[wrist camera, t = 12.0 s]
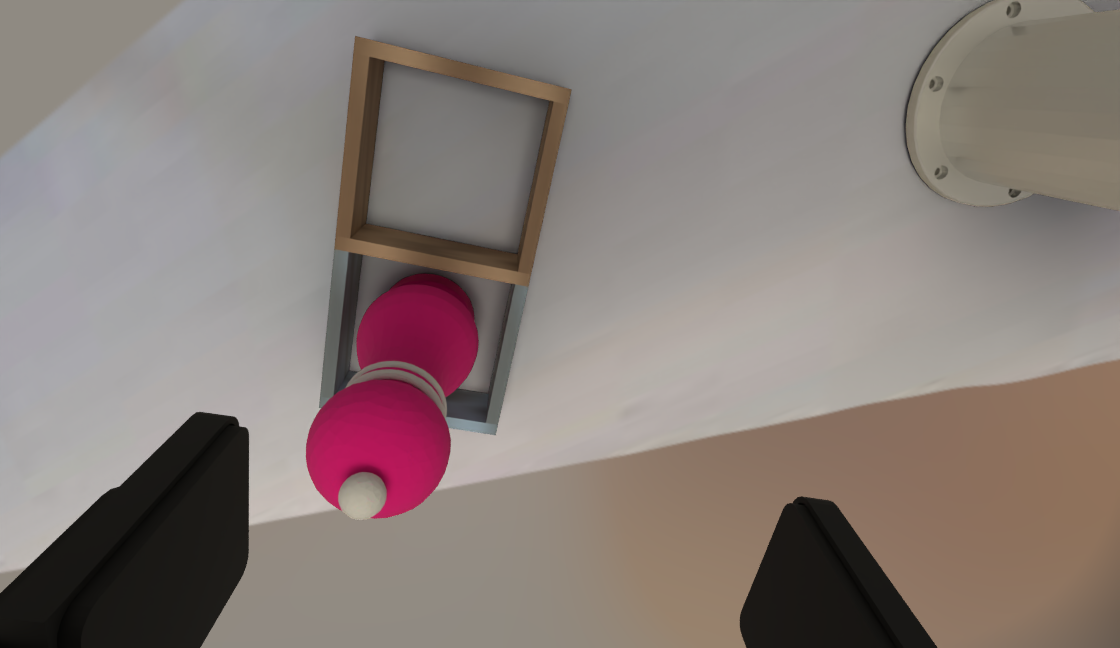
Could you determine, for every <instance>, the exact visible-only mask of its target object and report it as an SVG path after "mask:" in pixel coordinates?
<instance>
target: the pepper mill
mask: <svg viewBox="0 0 1120 648" xmlns="http://www.w3.org/2000/svg"><path fill="white" fill-rule="evenodd" d="M478 341H479V340H478V332H477V328H476V325H475V322H474V311H473V307H472V304H471V301H470V300H469V298H468V296H467V295H466V293H465V292H464V291H463V290H462V289H461V288H460V287H459V286H458V285H457V284H455V283H454V282H453V281H451V280H449V279H447V278H445V277H442V276H439V275H434V274H415V275H412V276H409V277H406V278H404V279H402V280H400V281H399V282H397V283H396V284H395V285H394V286H393V287H391V289H390V290H389V291H388V292H386V293H384V294H382V295H381V296H380V297H378V298H377V299H376V300H375V301H374V302H373V303H372V304H371V305H370V306H369V308H368V309H367V311H366V312H365V314H364V316H363V318H362V321H361V324H360V326H359V330H358V334H357V356H358V362H359V366H360V368H361V370H360V371H359V372H358V373H356V374H355V375H354V376H353V377H352V379H351V380H350V381H349V382H348V384H347V386H346V388H345V389H343V390H341V391H339V392H338V393H336V394H335V395H334V396H333V397H331V398H330V399H329V400H328V401H327V402H326V404H325V405H324V406H323V407H322V408H321V409H320V411H319V412H318V414H317V415H316V417H315V419H314V421H313V423H312V425H311V428H310V430H309V434H308V439H307V443H306V461H307V467H308V471H309V474H310V477H311V479H312V481H313V483H314V485H315V487H316V489H317V490H318V491H319V492H320V494H321V495H322V496H323V497H324V498H325V499H326V500H327V501H328V502H329V503H331V504H332V505H333V506H335V507H336V508H338V509H339V510H342V511H343V512H344V513H345V514H346V515H347V516H348V517H350V518H353V519H357V520H365V519H369V518H388V517H391V516H395V515H399V514H402V513H404V512H407V511H409V510H411V509H414V508H415V507H416V506H418V505H419V504H421V503H422V502H423V501H424V500H425V499H426V498H427V497H428V496H429V495H430V494H431V493H432V492H433V491H434V490H435V488H436V487H437V486H438V484H439V482H440V480H441V479H442V477H443V475H444V473H445V470H446V467H447V464H448V460H449V455H450V447H451V438H450V433H449V429H448V425H447V422H446V420H445V419H446V415H447V403H446V398H445V397H447V396H449V395H450V394H451V393H453V392H454V391H455V390H456V389H457V388H458V387H459V386H460V385H461V384H462V383H463V381H464V380H465V379H466V378H467V376H468V375H469V373H470V371H471V370H472V367H473V364H474V362H475V359H476V356H477V352H478Z"/></svg>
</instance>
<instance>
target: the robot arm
mask: <svg viewBox="0 0 1120 648" xmlns="http://www.w3.org/2000/svg"><path fill="white" fill-rule="evenodd" d="M929 84H930V86H929ZM906 137H907V146H908V150H909V154H910V157H911V161H912V163H913V165H914V167H915V169H916V171H917V172H918V174H919V176H920V177H921V179H922V180H923V181H924V182H925V183H926V184H927V185H928V186H929V187H930V188H931V189H932V190H934V191H935V192H936V193H938V194H939V195H941V196H942V197H944V198H947V199H950V200H952V201H955V202H958V203H962V204H967V205H971V206H982V207H993V206H999V205H1005V204H1010V203H1013V202H1016V201H1018V200H1021V199H1024V198H1027V197H1029V196H1031V195H1033V194H1034V193H1035V194H1040V195H1045V196H1050V197H1055V198H1059V199H1064V200H1069V201H1074V202H1078V203H1083V204H1088V205H1093V206H1098V207H1102V208H1107V209H1112V210H1117V211H1120V9H1118V10H1110V11H1103V12H1094V11H1093V10H1092V9H1091V8H1090V7H1088V6H1087V5H1086V4H1085V3H1084V2H1082V1H1081V0H994V1H991V2H989V3H986V4H985V5H983V6H981V7H980V8H978V9H976V10H975V11H973V12H971V13H970V14H968V15H967V16H966V17H964V18H963V19H962V20H961V21H960V22H958V23H957V24H956V25H955V26H954V27H952V28H951V29H950V30H949V31H948V33H947V34H946V35H945V36H944V37H943V38H942V39H941V40H940V42H939V43H938V44H937V45H936V46H935V48H934V49H933V51H932V52H931V54H930V55H929V57H928V58H927V60H926V61H925V63H924V65H923V66H922V68H921V71H920V73H919V75H918V77H917V79H916V82H915V84H914V86H913V90H912V93H911V97H910V101H909V104H908V110H907V119H906ZM248 533H249V432H248V429H247V428H245V427H239V422H238V420H237V418H235V417H233V416H225V415H218V414H211V413H204V412H196V413H195V414H194V415H192V416H191V417H190V418H189V419H188V420H187V421H186V422H185V423H184V424H183V425H182V426H181V427H180V428H179V429H178V430H177V431H176V432H175V433H174V434H173V435H172V436H171V437H170V438H169V439H168V440H167V441H166V442H165V443H164V444H162V445H161V446H160V447H159V448H158V449H157V450H156V451H155V452H154V453H153V454H152V455H151V456H150V457H149V458H148V459H147V460H146V461H145V462H144V463H143V464H142V465H141V466H140V467H139V468H138V469H137V470H136V471H135V472H134V473H133V474H132V475H131V476H130V477H129V478H128V479H127V480H126V481H125V482H124V483H123V484H122V485H121V486H120V487H117V488H113V489H110V490H109V491H108V492H106V493H105V494H104V495H102V496H101V497H100V498H99V499H98V500H97V501H96V502H95V503H94V504H93V505H92V506H91V507H90V508H89V509H88V510H87V511H86V512H84V513H83V514H82V515H81V516H80V517H79V518H78V519H77V520H76V521H75V522H74V523H73V524H72V525H71V526H70V527H69V528H68V529H67V530H66V531H65V532H64V533H63V534H62V535H61V536H59V537H58V538H57V539H56V540H55V541H54V542H53V543H52V544H51V545H50V546H49V547H48V548H47V549H46V550H45V551H44V552H43V553H42V554H41V555H40V556H39V557H38V558H37V559H36V560H35V561H33V562H32V563H31V564H30V565H29V566H28V567H27V568H26V569H25V570H24V571H23V572H22V573H21V574H20V575H19V576H18V577H17V578H16V579H15V580H14V581H13V582H12V583H11V584H10V585H9V586H7V587H6V588H5V589H4V590H3V591H2V592H1V593H0V648H200V647H201V646H202V644H203V642H204V640H205V639H206V637H207V635H208V633H209V632H210V630H211V628H212V627H213V625H214V623H215V622H216V620H217V618H218V616H219V615H220V613H221V612H222V610H223V608H224V606H225V605H226V603H227V601H228V600H229V598H230V596H231V595H232V593H233V591H234V589H235V588H236V586H237V584H238V583H239V581H240V579H241V577H242V575H243V573H244V571H245V568H246V564H247V560H248V553H249V552H248V551H249V549H248V546H249V539H248V538H249V535H248ZM740 630H741V634H742V637H743V640H744V642H745V645H746V648H937V646H936V645H935V643H934V642H933V641H932V639H931V638H930V636H929V635H928V634H927V632H926V631H925V629H924V628H923V627H922V625H921V624H920V622H919V621H918V619H917V618H916V617H915V615H914V614H913V612H911V610H910V608H909V607H908V605H907V604H906V603H905V601H904V600H903V599H902V597H901V596H900V594H899V593H898V591H897V590H896V589H895V587H894V586H893V584H892V583H891V581H890V580H889V579H888V577H887V576H886V574H885V573H884V572H883V570H882V569H881V567H880V566H879V565H878V563H877V562H876V560H875V559H874V558H873V556H872V555H871V553H870V552H869V551H868V549H867V548H866V546H865V545H864V544H863V542H862V541H861V539H860V538H859V537H858V535H857V534H856V532H855V531H854V529H853V528H852V527H851V525H850V524H849V522H848V521H847V520H846V518H845V517H844V515H843V514H842V513H841V511H840V510H839V508H838V507H837V506H836V505H835V504H834V503H833V502H831V501H829V500H822V499H815V498H808V497H798V498H797V499H795V500H794V502H793V503H789V504H787V505H786V506H785V507H784V509H783V511H782V513H781V516H780V518H779V521H778V523H777V525H776V528H775V530H774V533H773V535H772V538H771V540H770V542H769V545H768V547H767V550H766V552H765V555H764V557H763V560H762V562H761V564H760V567H759V570H758V572H757V574H756V577H755V579H754V582H753V584H752V586H751V589H750V592H749V594H748V596H747V599H746V601H745V603H744V606H743V609H742V611H741V615H740Z"/></svg>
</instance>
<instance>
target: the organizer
mask: <svg viewBox="0 0 1120 648" xmlns="http://www.w3.org/2000/svg"><path fill="white" fill-rule="evenodd" d="M385 61H389V62H393V63H398V64H402V65H406V66H410V67H414V68H418V69H422V70H426V71H430V72H435V73H439V74H443V75H447V76H451V77H455V78H459V79H463V80H467V81H472V82H476V83H480V84H484V85H488V86H492V87H496V88H500V89H504V90H509V91H513V92H517V93H521V94H525V95H529V96H533V97H537V98H541V99H545V100H550V101H549V105H548V110H547V115H546V120H545V125H544V129H543V134H542V139H541V144H540V149H539V153H538V158H537V163H536V168H535V172H534V177H533V182H532V187H531V192H530V196H529V201H528V206H527V211H526V216H525V220H524V225H523V230H522V235H521V240H520V244H519V249H518V254H514V253H509V252H504V251H499V250H494V249H489V248H484V247H479V246H474V245H469V244H464V243H459V242H454V241H449V240H444V239H439V238H435V237H430V236H425V235H420V234H415V233H410V232H405V231H400V230H395V229H390V228H385V227H380V226H375V225H370V224H366V219H367V210H368V201H369V193H370V184H371V175H372V166H373V158H374V149H375V140H376V131H377V123H378V114H379V105H380V96H381V88H382V79H383V70H384V62H385ZM570 95H571V89H567V88H563V87H559V86H555V85H551V84H547V83H543V82H539V81H535V80H531V79H527V78H523V77H519V76H515V75H511V74H506V73H502V72H498V71H494V70H490V69H486V68H482V67H478V66H474V65H470V64H466V63H462V62H458V61H454V60H450V59H446V58H442V57H438V56H434V55H430V54H426V53H422V52H418V51H414V50H410V49H406V48H401V47H397V46H393V45H389V44H385V43H381V42H377V41H373V40H369V39H365V38H361V37H357V36H355V43H354V53H353V63H352V73H351V84H350V94H349V104H348V115H347V125H346V135H345V146H344V156H343V166H342V177H341V187H340V197H339V208H338V218H337V228H336V239H335V249H334V259H333V269H332V280H331V290H330V300H329V311H328V321H327V331H326V342H325V352H324V362H323V373H322V383H321V393H320V404H319V408H322V407H323V406H324V405H325V404H326V402H327V401H328V400H329V399H330V398H331V397H333V396H334V395H335V394H336V393H338V392H339V391H341V390H343V389H345V388H346V386H347V384H348V382H349V381H350V380H351V379H352V377H353V376H354V375H355V374H356V373H358V372H353V371H349V368H350V359H351V350H352V341H353V333H354V324H355V315H356V306H357V298H358V289H359V280H360V271H361V263H362V255H367V256H372V257H377V258H383V259H388V260H393V261H398V262H403V263H408V264H413V265H418V266H424V267H429V268H434V269H439V270H444V271H449V272H454V273H460V274H465V275H470V276H475V277H480V278H485V279H490V280H495V281H501V282H506V283H511V287H510V292H509V297H508V302H507V307H506V311H505V316H504V321H503V326H502V331H501V335H500V340H499V345H498V350H497V354H496V359H495V364H494V369H493V374H492V378H491V383H490V388H489V393H488V394H485V393H479V392H473V391H467V390H461V389H456V390H455V391H454V392H453V393H451V394H450V395H449V396H447V397H445V398H446V403H447V415H446V419H445V420H446V422H447V425H448V428H453V429H459V430H466V431H472V432H478V433H485V434H491V435H496V431H497V427H498V422H499V418H500V413H501V408H502V404H503V399H504V395H505V390H506V386H507V381H508V377H509V372H510V367H511V363H512V358H513V354H514V349H515V345H516V340H517V336H518V331H519V327H520V322H521V317H522V313H523V308H524V304H525V299H526V295H527V290H528V286H529V281H530V276H531V272H532V267H533V263H534V258H535V254H536V249H537V245H538V240H539V236H540V231H541V226H542V222H543V217H544V213H545V208H546V204H547V199H548V195H549V190H550V186H551V181H552V176H553V172H554V167H555V163H556V158H557V154H558V149H559V145H560V140H561V135H562V131H563V126H564V122H565V117H566V113H567V108H568V104H569V99H570Z"/></svg>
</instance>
